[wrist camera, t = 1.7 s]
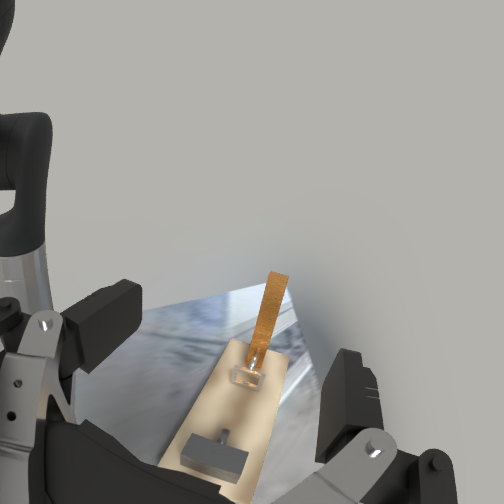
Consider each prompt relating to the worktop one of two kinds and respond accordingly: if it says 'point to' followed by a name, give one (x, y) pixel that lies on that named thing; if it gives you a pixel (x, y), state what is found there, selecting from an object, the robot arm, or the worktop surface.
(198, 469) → the gray rectangular block
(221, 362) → the rail board
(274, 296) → the upright wooden paddle
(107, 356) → the robot arm
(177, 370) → the worktop surface
